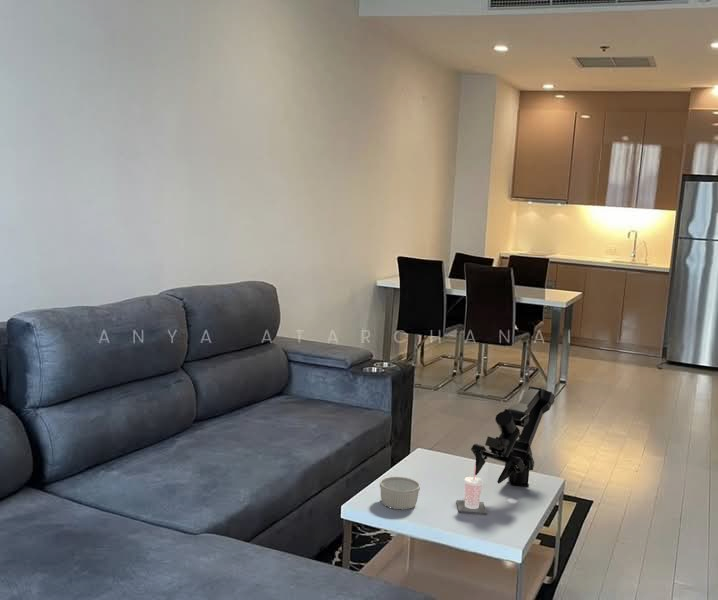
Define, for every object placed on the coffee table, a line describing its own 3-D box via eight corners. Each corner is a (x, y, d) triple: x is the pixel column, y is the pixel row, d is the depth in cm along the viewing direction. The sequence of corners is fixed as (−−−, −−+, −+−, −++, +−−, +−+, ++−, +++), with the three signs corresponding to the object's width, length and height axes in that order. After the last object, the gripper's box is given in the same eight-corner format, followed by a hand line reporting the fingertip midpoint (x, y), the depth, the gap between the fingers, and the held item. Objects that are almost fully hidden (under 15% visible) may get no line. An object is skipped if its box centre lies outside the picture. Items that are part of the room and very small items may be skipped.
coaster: (483, 503, 246) (483, 502, 246) (486, 514, 237) (486, 513, 237) (456, 501, 247) (456, 499, 246) (458, 512, 238) (458, 510, 238)
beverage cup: (464, 509, 239) (468, 468, 237) (460, 502, 245) (463, 461, 243) (483, 510, 239) (486, 468, 238) (478, 502, 245) (482, 462, 244)
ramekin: (370, 502, 241) (371, 482, 240) (395, 492, 251) (396, 473, 250) (402, 515, 233) (403, 494, 232) (426, 504, 243) (428, 484, 242)
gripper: (475, 421, 255) (455, 458, 248) (523, 434, 242) (502, 474, 236) (486, 438, 262) (466, 475, 255) (533, 452, 249) (513, 491, 242)
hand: (486, 478), depth 247 cm, fingers open, 9 cm apart
